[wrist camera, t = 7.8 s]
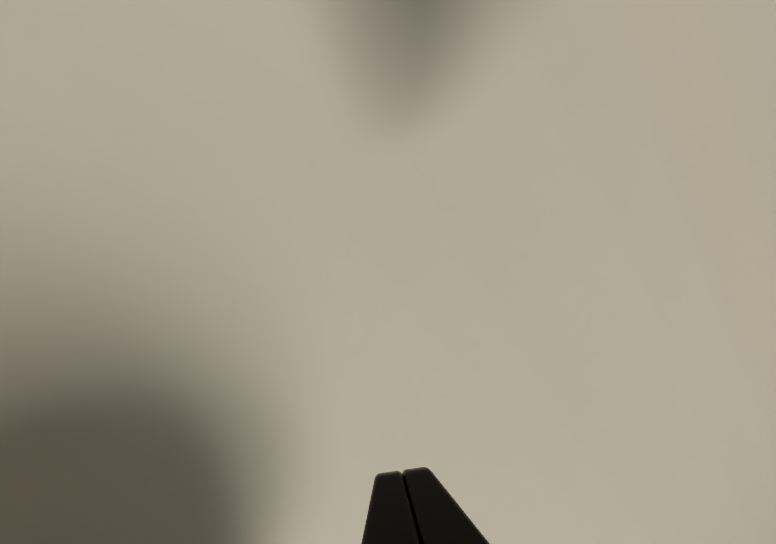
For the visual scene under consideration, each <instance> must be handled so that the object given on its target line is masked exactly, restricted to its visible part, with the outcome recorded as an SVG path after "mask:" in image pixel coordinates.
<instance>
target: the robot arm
mask: <svg viewBox="0 0 776 544" xmlns="http://www.w3.org/2000/svg"><path fill="white" fill-rule="evenodd" d="M362 544H489V542H488V541H487V540H486V539H485V537H484V536H483V535H482V534H481V532H480V531H479V530H478V529H477V528H476V526H475V525H474V524H473V523H472V521H471V520H470V519H469V518H468V516H467V515H466V514H465V513H464V511H463V510H462V509H461V508H460V506H459V505H458V504H457V503H456V501H455V500H454V499H453V498H452V496H451V495H450V494H449V493H448V491H447V490H446V489H445V488H444V487H443V485H442V484H441V483H440V482H439V480H438V479H437V478H436V477H435V475H434V474H433V473H432V472H431V471H430V470H429V469H428V468H426V467H421V468H414V469H407V470H404V471H403V473H402V474H401V472H399V471H393V472H387V473H380V474H378V475H377V476H376V477H375V481H374V485H373V490H372V495H371V500H370V505H369V510H368V515H367V520H366V525H365V529H364V534H363V539H362Z"/></svg>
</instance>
